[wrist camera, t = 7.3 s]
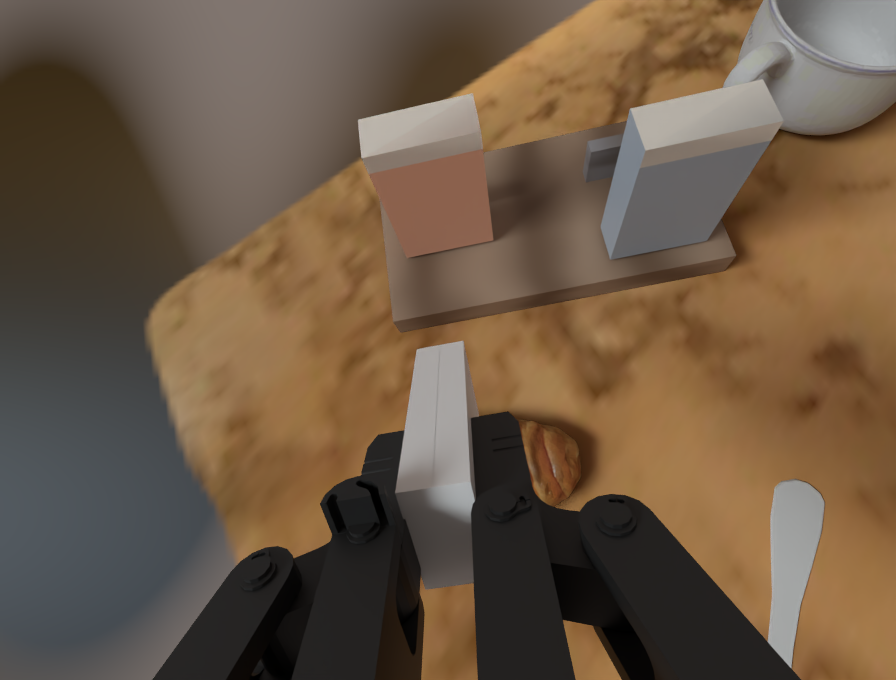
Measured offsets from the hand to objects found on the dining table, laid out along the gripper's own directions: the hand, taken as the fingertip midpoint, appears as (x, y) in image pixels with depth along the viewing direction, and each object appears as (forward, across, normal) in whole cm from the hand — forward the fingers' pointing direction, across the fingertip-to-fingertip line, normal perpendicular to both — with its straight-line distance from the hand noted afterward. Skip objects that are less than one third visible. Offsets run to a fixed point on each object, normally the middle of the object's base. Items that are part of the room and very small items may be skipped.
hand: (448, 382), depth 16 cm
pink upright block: (+20, 0, +1) cm, 20 cm away
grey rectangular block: (+18, +13, -2) cm, 22 cm away
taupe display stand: (+22, +6, -1) cm, 23 cm away
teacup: (+26, +25, +3) cm, 37 cm away
